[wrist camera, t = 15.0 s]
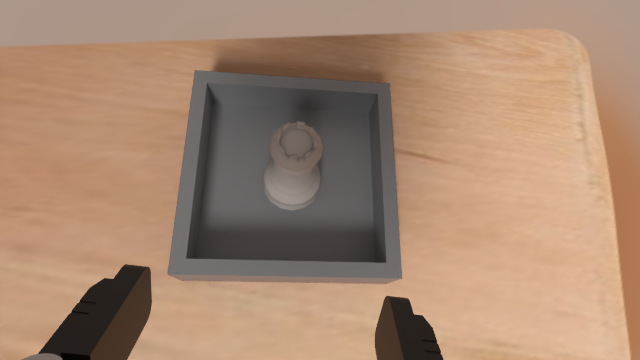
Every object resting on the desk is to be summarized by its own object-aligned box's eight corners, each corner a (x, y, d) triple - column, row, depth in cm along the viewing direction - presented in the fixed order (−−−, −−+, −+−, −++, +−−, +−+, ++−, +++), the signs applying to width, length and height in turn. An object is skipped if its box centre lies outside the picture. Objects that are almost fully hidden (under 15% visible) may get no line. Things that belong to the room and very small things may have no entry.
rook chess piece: (308, 221, 30) (319, 187, 22) (253, 199, 30) (246, 158, 22) (328, 170, 31) (345, 122, 24) (276, 149, 31) (276, 95, 24)
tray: (181, 280, 28) (167, 274, 24) (203, 98, 33) (194, 70, 29) (385, 283, 30) (402, 278, 26) (377, 109, 35) (389, 83, 31)
